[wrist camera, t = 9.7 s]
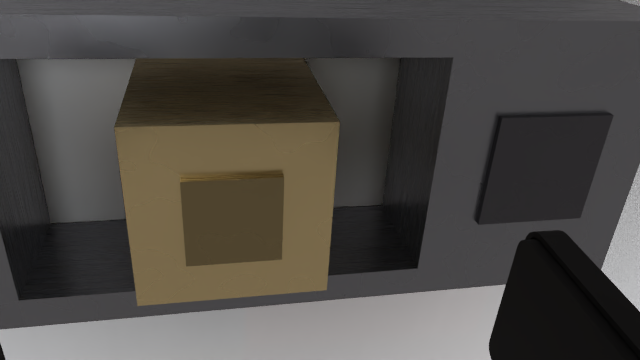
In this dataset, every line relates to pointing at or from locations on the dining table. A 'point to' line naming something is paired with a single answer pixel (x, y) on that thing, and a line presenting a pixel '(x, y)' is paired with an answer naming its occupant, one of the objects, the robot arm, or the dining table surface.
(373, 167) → the dining table surface
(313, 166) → the brass block
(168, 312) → the grey slotted block
